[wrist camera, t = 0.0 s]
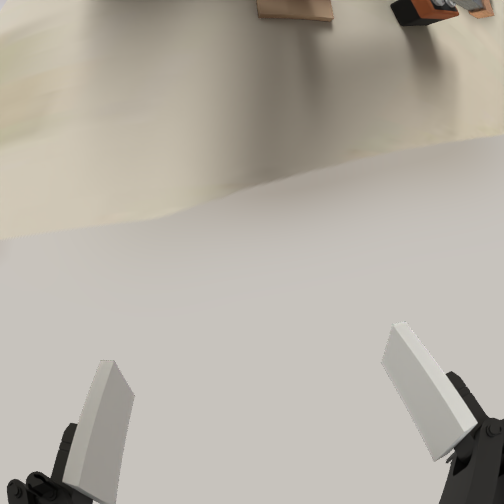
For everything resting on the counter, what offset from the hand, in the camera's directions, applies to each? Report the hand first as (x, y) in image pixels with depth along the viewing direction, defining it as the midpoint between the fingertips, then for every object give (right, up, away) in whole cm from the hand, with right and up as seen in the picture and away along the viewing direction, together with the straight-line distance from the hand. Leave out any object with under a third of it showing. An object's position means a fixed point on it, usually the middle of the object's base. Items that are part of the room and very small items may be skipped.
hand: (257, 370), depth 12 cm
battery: (+25, +44, +14) cm, 52 cm away
